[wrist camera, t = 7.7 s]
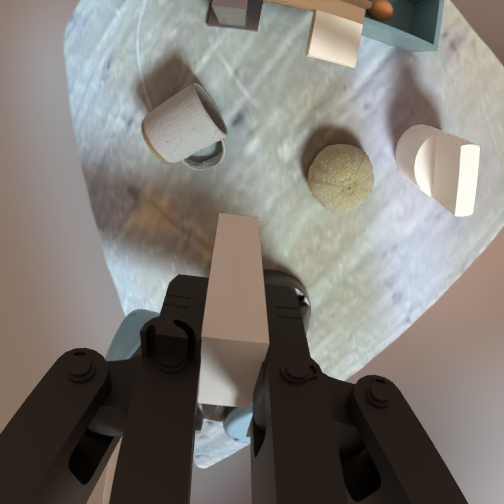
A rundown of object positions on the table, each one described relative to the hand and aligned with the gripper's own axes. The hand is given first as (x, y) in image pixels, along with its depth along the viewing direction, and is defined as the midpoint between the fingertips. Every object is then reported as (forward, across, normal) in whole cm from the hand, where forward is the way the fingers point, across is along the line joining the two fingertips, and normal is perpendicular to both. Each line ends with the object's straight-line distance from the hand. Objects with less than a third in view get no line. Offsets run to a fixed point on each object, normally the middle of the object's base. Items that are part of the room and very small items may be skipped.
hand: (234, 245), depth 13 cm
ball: (+28, -14, -20) cm, 37 cm away
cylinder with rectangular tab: (+31, -26, -2) cm, 40 cm away
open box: (+30, -15, -20) cm, 39 cm away
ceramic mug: (+31, +6, +1) cm, 31 cm away
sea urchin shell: (+31, -14, +4) cm, 34 cm away
